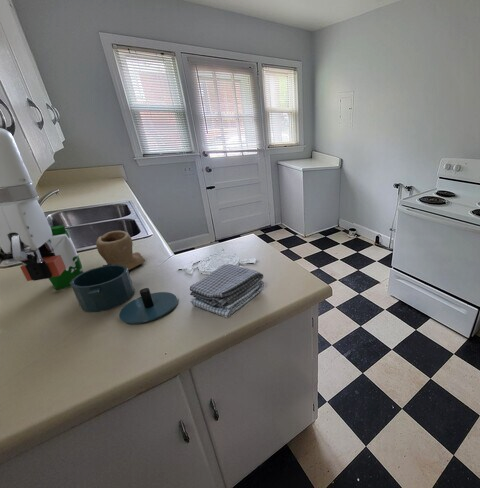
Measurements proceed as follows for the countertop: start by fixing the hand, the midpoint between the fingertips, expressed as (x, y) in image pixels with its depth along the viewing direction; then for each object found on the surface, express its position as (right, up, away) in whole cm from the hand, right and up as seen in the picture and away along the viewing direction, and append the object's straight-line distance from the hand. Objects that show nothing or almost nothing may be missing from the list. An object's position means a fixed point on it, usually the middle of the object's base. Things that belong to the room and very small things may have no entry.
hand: (46, 273), depth 61 cm
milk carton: (-25, -7, +33) cm, 42 cm away
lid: (+11, -12, +19) cm, 25 cm away
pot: (-5, -11, +24) cm, 26 cm away
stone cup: (-13, -3, +42) cm, 44 cm away
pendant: (+22, -2, +44) cm, 49 cm away
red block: (0, 0, 0) cm, 0 cm away
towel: (+33, -10, +25) cm, 42 cm away
